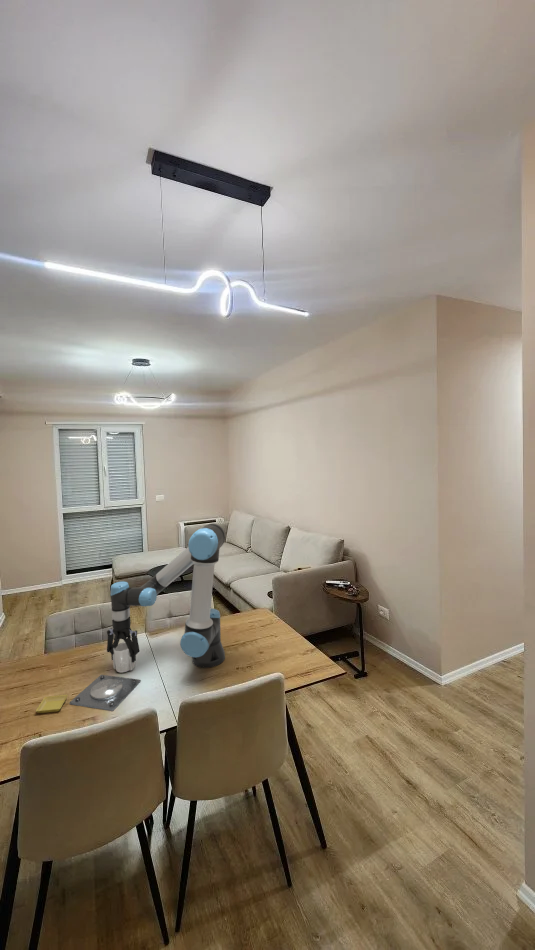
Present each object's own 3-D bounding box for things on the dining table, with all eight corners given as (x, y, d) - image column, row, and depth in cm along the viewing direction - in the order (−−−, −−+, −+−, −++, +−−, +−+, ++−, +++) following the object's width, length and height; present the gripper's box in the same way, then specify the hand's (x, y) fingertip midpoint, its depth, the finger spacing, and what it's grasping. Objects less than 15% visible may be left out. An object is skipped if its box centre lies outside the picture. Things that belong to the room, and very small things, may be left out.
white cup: (127, 674, 170) (126, 651, 169) (111, 672, 171) (109, 650, 170) (136, 664, 177) (135, 642, 177) (121, 663, 179) (119, 641, 178)
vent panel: (140, 681, 165) (140, 676, 165) (113, 711, 147) (112, 705, 147) (101, 676, 169) (100, 671, 169) (69, 704, 151) (69, 699, 151)
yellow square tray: (68, 699, 155) (68, 694, 155) (60, 713, 146) (60, 708, 146) (45, 701, 153) (44, 696, 153) (35, 716, 145) (35, 711, 145)
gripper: (146, 615, 174) (149, 665, 175) (106, 612, 179) (109, 661, 180) (137, 623, 167) (140, 674, 168) (95, 619, 171) (98, 670, 173)
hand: (124, 667), depth 174 cm, fingers closed on white cup, 7 cm apart
